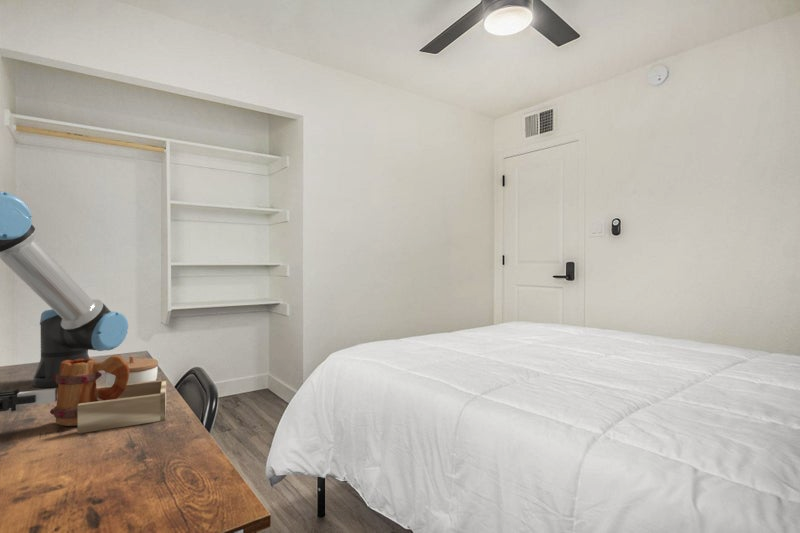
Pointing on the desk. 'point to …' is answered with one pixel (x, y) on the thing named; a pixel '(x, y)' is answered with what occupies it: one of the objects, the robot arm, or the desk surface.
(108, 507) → the desk surface
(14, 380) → the desk surface
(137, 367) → the lidded bowl
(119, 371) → the mug
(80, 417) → the wooden u-shaped frame
